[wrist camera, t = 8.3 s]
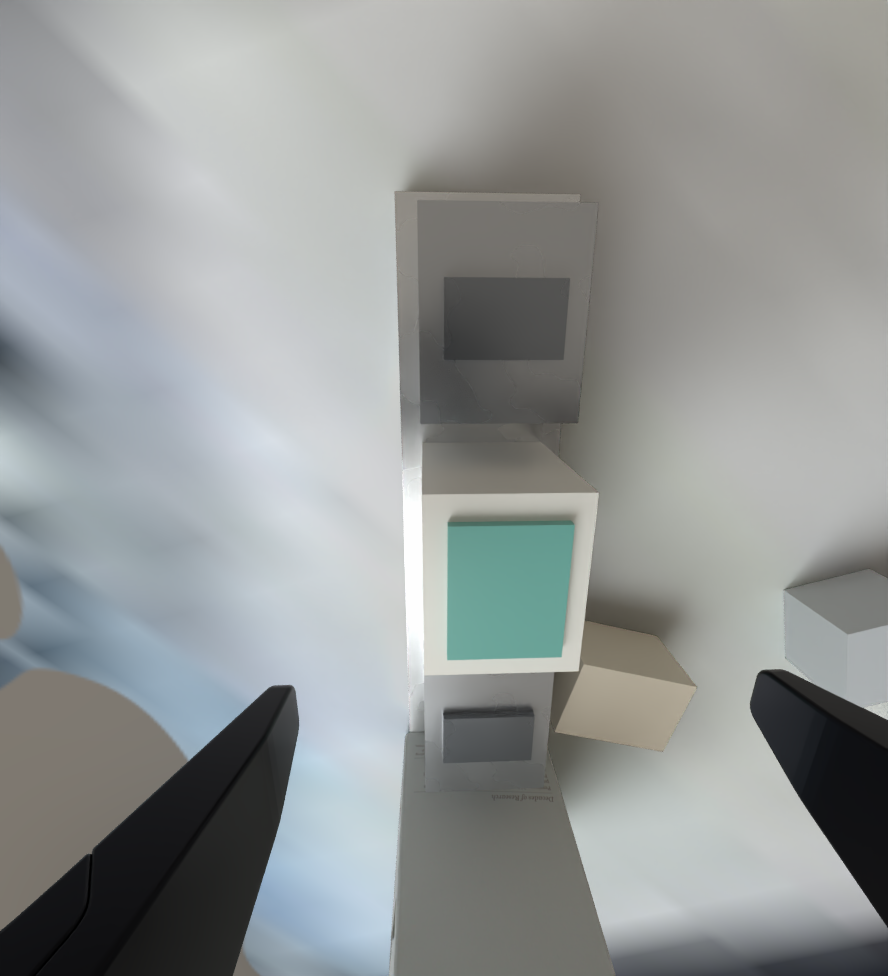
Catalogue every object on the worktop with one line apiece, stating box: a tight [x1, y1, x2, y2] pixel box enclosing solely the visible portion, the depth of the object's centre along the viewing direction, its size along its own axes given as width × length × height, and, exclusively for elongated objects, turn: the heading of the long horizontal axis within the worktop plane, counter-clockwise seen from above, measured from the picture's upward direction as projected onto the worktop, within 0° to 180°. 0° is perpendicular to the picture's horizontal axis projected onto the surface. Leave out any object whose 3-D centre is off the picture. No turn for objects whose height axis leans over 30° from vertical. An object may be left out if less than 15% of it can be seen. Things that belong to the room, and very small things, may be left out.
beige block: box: [550, 620, 697, 752], centre depth 20 cm, size 5×4×4 cm
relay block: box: [783, 569, 888, 708], centre depth 20 cm, size 4×4×4 cm
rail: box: [395, 191, 599, 792], centre depth 17 cm, size 6×22×6 cm, turn 0°
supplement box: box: [389, 732, 615, 976], centre depth 18 cm, size 7×7×13 cm
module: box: [422, 442, 599, 676], centre depth 15 cm, size 4×6×6 cm
